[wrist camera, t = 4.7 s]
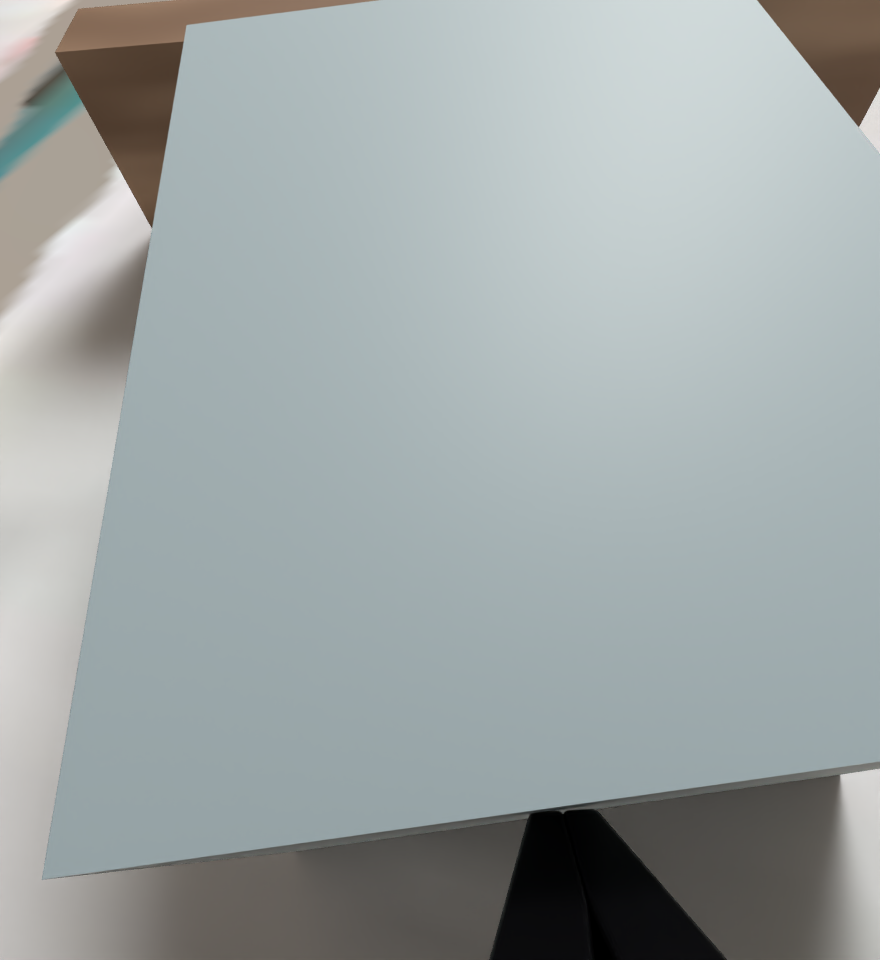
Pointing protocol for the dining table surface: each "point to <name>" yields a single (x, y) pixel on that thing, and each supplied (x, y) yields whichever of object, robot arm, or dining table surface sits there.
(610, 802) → the slate block
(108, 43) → the walnut board
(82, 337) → the dining table surface
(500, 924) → the robot arm
